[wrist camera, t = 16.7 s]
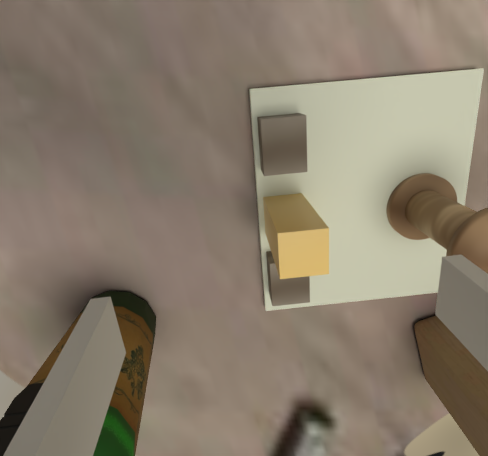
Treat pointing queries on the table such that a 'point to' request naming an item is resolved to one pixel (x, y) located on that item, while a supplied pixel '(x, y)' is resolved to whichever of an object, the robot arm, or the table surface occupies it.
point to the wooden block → (455, 379)
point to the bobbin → (439, 217)
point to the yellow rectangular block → (296, 236)
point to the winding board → (371, 173)
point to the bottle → (121, 373)
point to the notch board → (276, 163)
